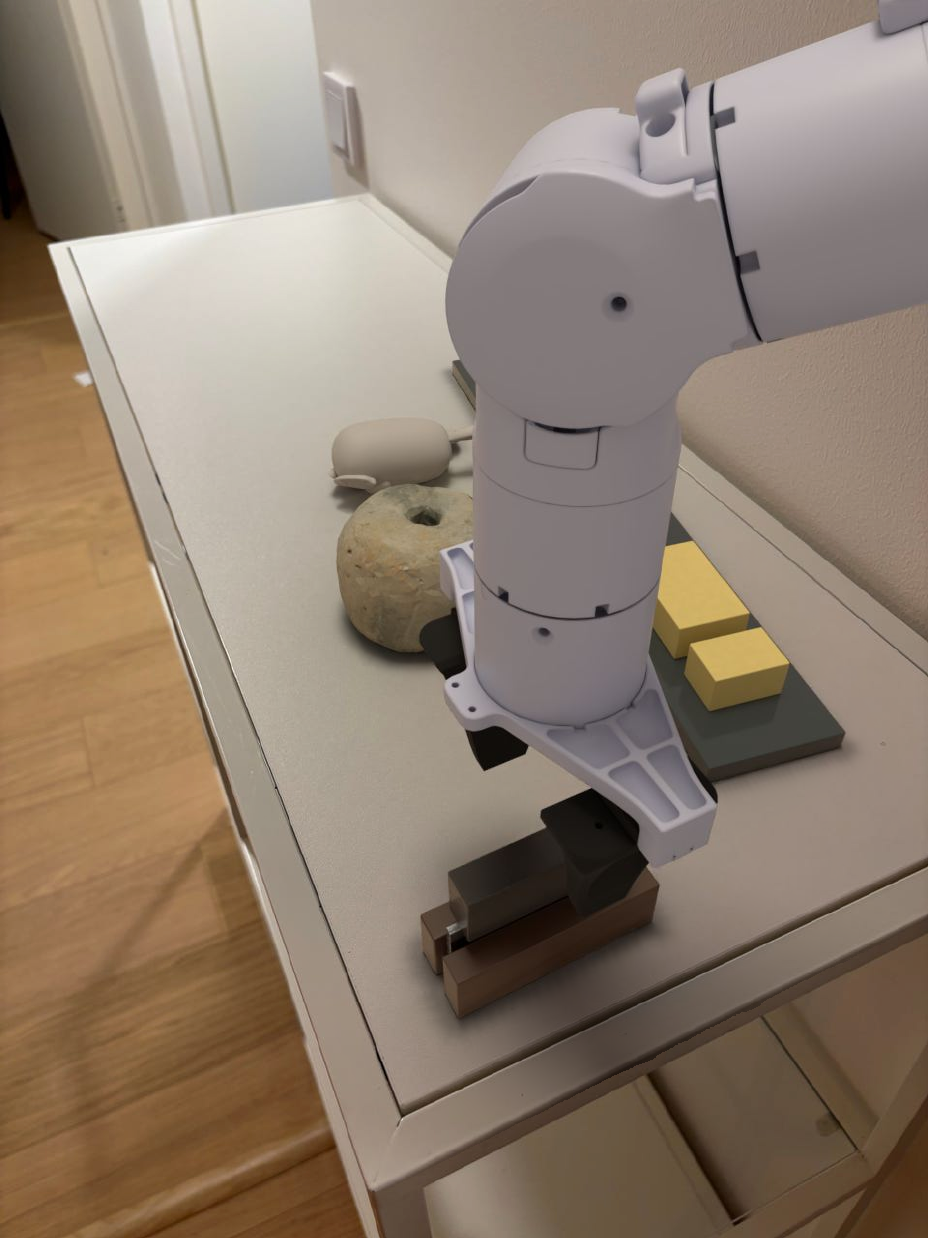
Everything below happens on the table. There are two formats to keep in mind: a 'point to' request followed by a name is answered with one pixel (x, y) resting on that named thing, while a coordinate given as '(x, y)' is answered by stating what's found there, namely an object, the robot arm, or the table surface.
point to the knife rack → (528, 944)
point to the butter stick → (694, 601)
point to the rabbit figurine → (393, 452)
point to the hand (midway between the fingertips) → (547, 824)
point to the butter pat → (736, 668)
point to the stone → (400, 560)
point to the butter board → (738, 730)
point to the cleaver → (505, 887)
